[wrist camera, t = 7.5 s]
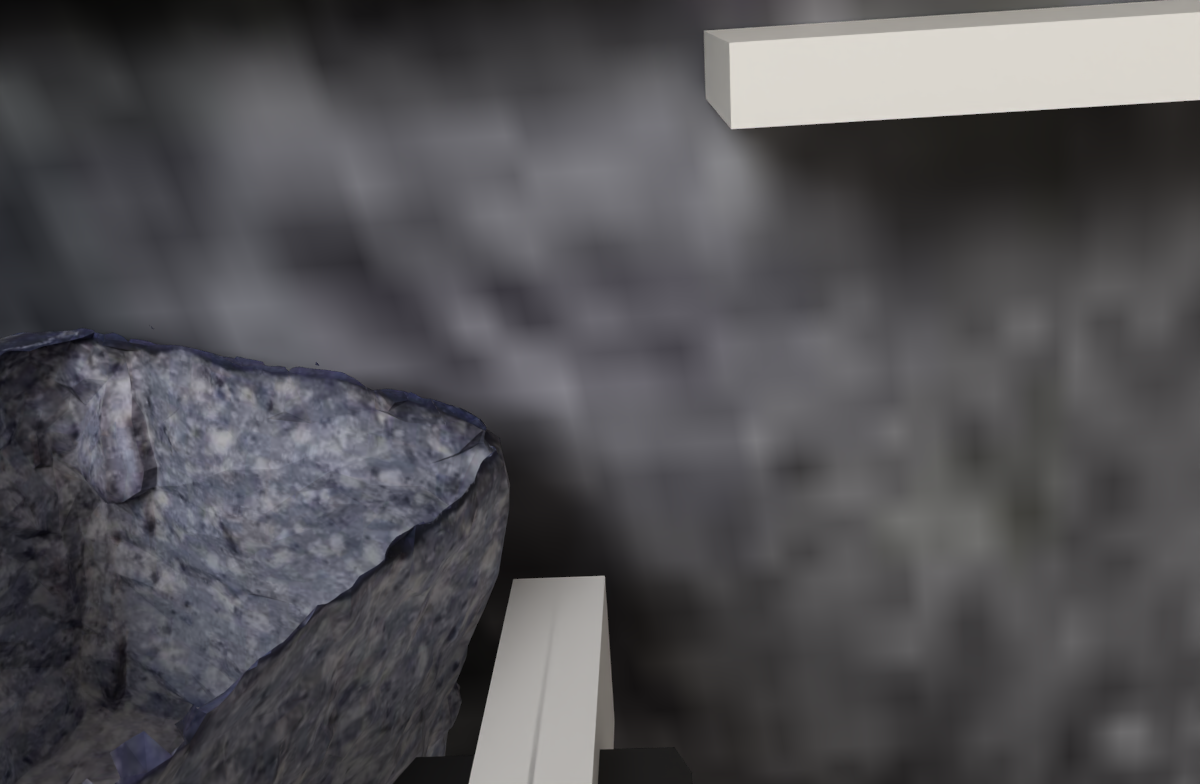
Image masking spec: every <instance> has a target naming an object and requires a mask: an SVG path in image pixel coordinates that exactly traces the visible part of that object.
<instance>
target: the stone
mask: <svg viewBox="0 0 1200 784" xmlns="http://www.w3.org/2000/svg"><path fill="white" fill-rule="evenodd" d="M151 328H152V327H151ZM152 329H153V328H152ZM316 365H318V366H319V364H318V363H317V362H316ZM509 491H510V482H509V478H508V474H507V470H506V466H505V462H504V458H503V453H502V449H501V445H500V438H499V437H497V436H496V435H494V434H493V433H491V432H490V431H488V430H487V429H486V426H485V425H484V423H483V422H482V421H481V419H479V418H478V417H476V416H474V415H473V414H471V413H469V412H467V411H465V410H463V409H461V408H458V407H455V406H453V405H448V404H445V403H442V402H439V401H436V400H433V399H423V398H421V397H419V396H417V395H415V394H413V393H412V392H410V393H407V392H404V391H398V390H392V389H382V390H371V389H369V388H366V387H365V386H364V385H362V384H361V383H360V382H358V381H357V380H356V379H354V378H352V377H350V376H348V375H346V374H344V373H342V372H335V371H329V370H320V369H309V368H303V367H295V368H292V369H291V370H290V371H287V369H286V368H285V367H280V366H266V365H264V363H263V362H261V361H256V360H251V359H245V358H241V357H236V358H235V359H234V358H230V357H222V356H219V355H216V354H213V353H209V352H205V351H201V350H197V349H193V348H189V347H184V346H178V345H156V344H154V343H151V342H148V341H144V340H138V339H130V341H129V342H128V341H127V340H126V339H125V338H124V337H122V336H120V335H118V334H115V333H110V334H105V335H104V334H100V333H95V332H94V330H90V329H85V328H81V329H77V330H72V331H51V332H40V333H17V334H14V335H11V336H8V337H4V338H1V339H0V784H393V783H394V781H395V780H396V779H397V778H398V777H399V776H400V775H401V774H402V772H403V771H404V770H405V769H406V768H407V767H408V766H409V765H410V763H411V762H412V761H413V760H414V759H415V758H416V757H436V756H445V752H446V742H447V734H448V730H449V729H450V728H452V727H453V724H454V722H455V720H456V718H457V716H458V713H459V709H460V706H461V703H462V699H461V696H460V692H459V689H460V686H459V685H458V683H457V678H458V677H459V674H460V672H461V669H462V667H463V664H464V662H465V659H466V656H467V648H468V644H469V642H470V639H471V637H472V635H473V633H474V630H475V628H476V626H477V624H478V622H479V619H480V617H481V615H482V613H483V611H484V609H485V607H486V604H487V602H488V599H489V597H490V594H491V592H492V589H493V587H494V584H495V582H496V579H497V577H498V574H499V568H500V562H501V556H502V550H503V543H504V537H505V531H506V525H507V519H508V513H509Z"/></svg>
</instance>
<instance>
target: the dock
mask: <svg viewBox="0 0 1200 784" xmlns="http://www.w3.org/2000/svg"><path fill="white" fill-rule="evenodd" d="M704 59H705V93H706V99H707V101H708V102H709V103H710V104H711V105H712V107H713V108H714V109H715V110H716V112H717V113H718V114H719V115H720V116H721V118H722V119H723V120H724V121H725V122H726V124H727V125H728V126H729V127H730V128H731V129H744V128H760V127H776V126H791V125H807V124H823V123H839V122H855V121H871V120H887V119H903V118H919V117H935V116H951V115H967V114H983V113H999V112H1015V111H1031V110H1047V109H1063V108H1079V107H1095V106H1111V105H1127V104H1143V103H1159V102H1175V101H1191V100H1200V0H1164V1H1149V2H1134V3H1119V4H1104V5H1088V6H1073V7H1058V8H1043V9H1027V10H1012V11H997V12H982V13H966V14H951V15H936V16H921V17H905V18H890V19H875V20H860V21H845V22H829V23H814V24H799V25H784V26H768V27H753V28H738V29H723V30H707V31H704Z"/></svg>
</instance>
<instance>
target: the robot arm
mask: <svg viewBox="0 0 1200 784" xmlns="http://www.w3.org/2000/svg"><path fill="white" fill-rule="evenodd" d="M614 724H615V720H614V705H613V690H612V675H611V660H610V645H609V630H608V614H607V599H606V584H605V576H584V577H557V578H529V579H513V583H512V587H511V592H510V596H509V601H508V606H507V610H506V615H505V619H504V624H503V628H502V633H501V638H500V642H499V647H498V651H497V656H496V660H495V665H494V670H493V674H492V679H491V683H490V688H489V693H488V697H487V702H486V706H485V711H484V715H483V720H482V725H481V729H480V734H479V738H478V743H477V748H476V752H475V755H472V756H436V757H416V758H415V759H414V760H413V761H412V762H411V763H410V765H409V766H408V767H407V768H406V769H405V770H404V771H403V772H402V774H401V775H400V776H399V777H398V778H397V779H396V780H395V781H394V783H393V784H692V773H691V771H690V770H689V768H688V767H687V765H686V764H685V762H684V761H683V760H682V758H681V757H680V755H679V754H678V752H677V751H676V749H675V748H674V747H670V748H634V749H614Z"/></svg>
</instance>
